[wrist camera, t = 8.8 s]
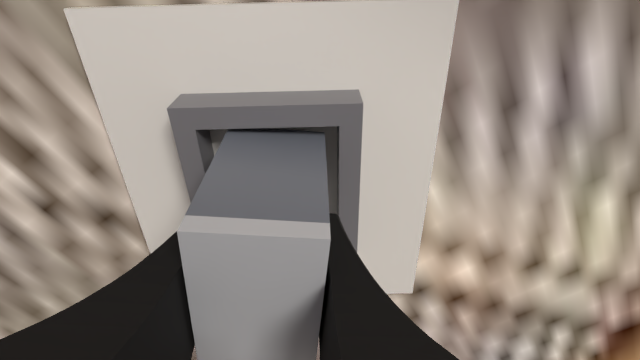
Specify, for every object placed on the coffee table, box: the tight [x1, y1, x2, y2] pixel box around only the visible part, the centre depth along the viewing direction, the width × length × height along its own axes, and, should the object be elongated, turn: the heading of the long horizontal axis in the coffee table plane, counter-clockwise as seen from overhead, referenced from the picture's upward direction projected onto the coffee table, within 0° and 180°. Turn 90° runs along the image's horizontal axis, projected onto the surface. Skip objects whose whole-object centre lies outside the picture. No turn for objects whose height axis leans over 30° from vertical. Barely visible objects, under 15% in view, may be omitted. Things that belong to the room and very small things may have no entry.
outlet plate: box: [64, 0, 459, 294], centre depth 15 cm, size 13×14×2 cm
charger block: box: [177, 128, 331, 360], centre depth 12 cm, size 4×5×6 cm
